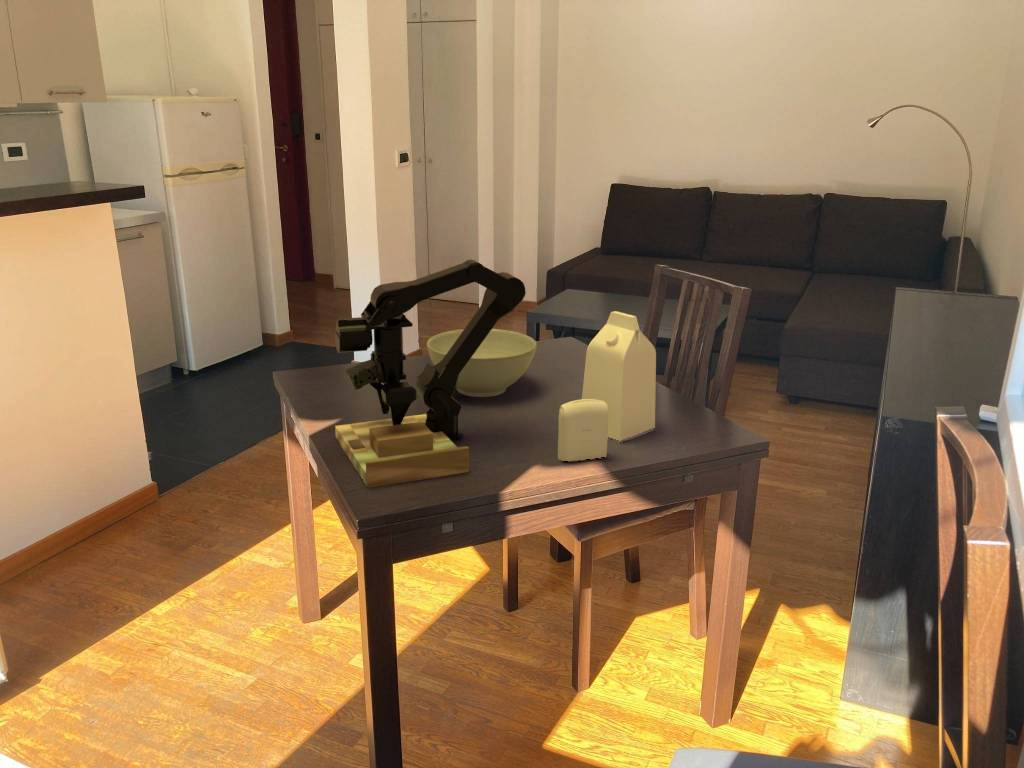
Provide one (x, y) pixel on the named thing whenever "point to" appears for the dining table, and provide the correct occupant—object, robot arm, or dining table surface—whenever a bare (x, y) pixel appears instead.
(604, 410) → the photo printer
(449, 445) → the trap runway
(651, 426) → the milk
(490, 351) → the decorative bowl
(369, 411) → the dining table surface
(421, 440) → the walnut block
